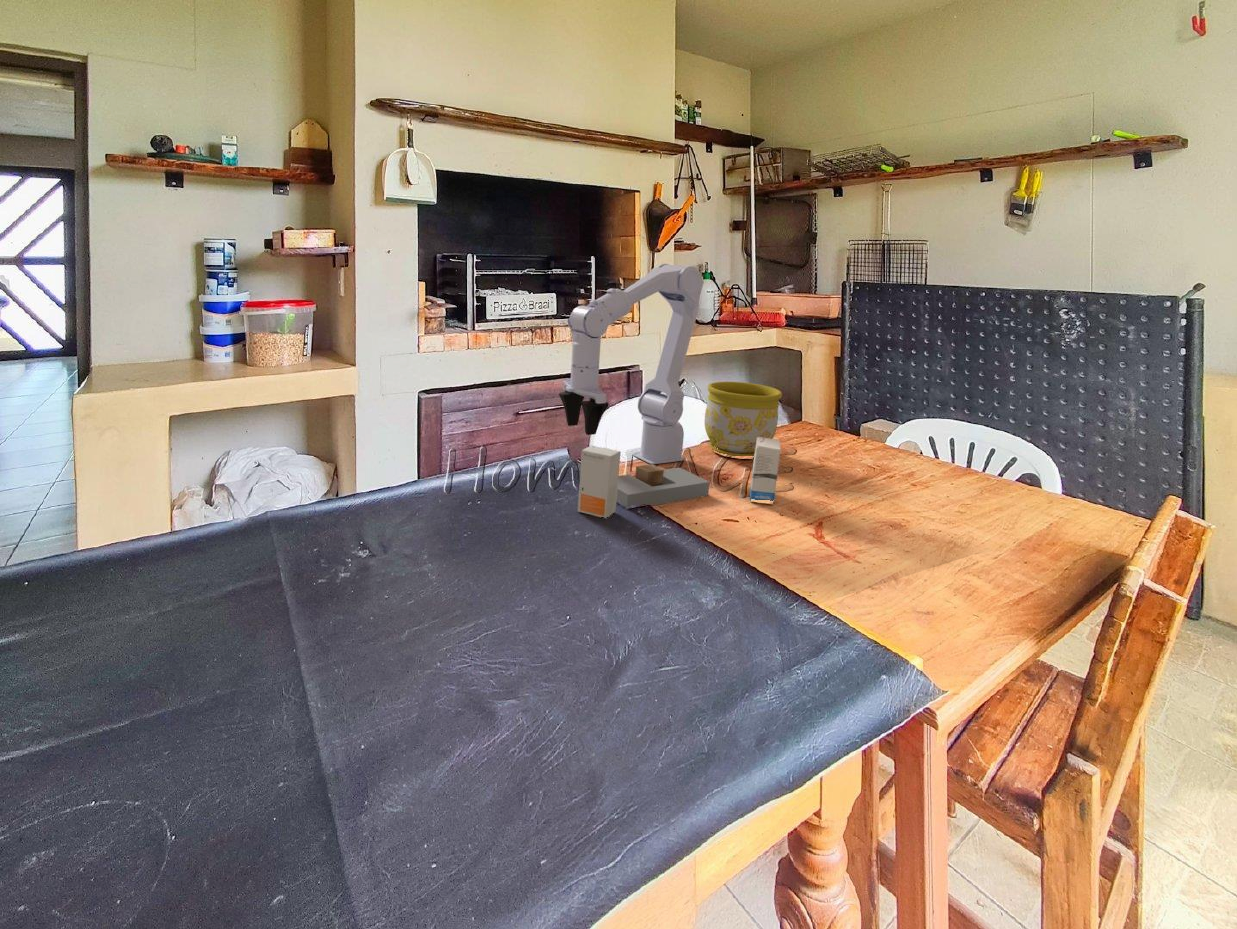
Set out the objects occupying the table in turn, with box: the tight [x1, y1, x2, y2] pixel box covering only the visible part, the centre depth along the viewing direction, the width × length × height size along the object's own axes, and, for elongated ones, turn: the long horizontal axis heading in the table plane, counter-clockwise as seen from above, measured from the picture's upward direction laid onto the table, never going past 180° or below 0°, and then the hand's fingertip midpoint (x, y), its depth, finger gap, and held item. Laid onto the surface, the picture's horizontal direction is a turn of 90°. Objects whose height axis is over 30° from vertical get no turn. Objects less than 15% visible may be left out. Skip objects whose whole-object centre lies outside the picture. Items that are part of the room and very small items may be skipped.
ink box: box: [749, 437, 782, 501], centre depth 139 cm, size 9×5×12 cm, turn 168°
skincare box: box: [577, 445, 622, 519], centre depth 124 cm, size 6×4×12 cm
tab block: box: [634, 464, 665, 487], centre depth 139 cm, size 4×4×5 cm
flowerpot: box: [704, 381, 783, 456], centre depth 170 cm, size 18×18×16 cm
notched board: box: [616, 467, 711, 507], centre depth 138 cm, size 20×10×3 cm, turn 123°
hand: (581, 429), depth 146 cm, fingers open, 7 cm apart
